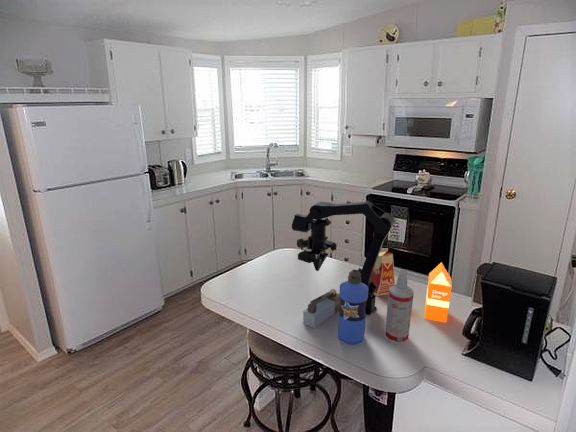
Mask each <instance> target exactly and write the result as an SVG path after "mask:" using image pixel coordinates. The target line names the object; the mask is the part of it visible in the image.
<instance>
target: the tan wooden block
mask: <svg viewBox="0 0 576 432" xmlns="http://www.w3.org/2000/svg"><path fill="white" fill-rule="evenodd" d="M328 299H330V300H332V301H335V313H337V312H339V311H340V306H341V305H340V296H339V293H337V292H336V296H331V297H329V298H328ZM335 313H334V314H335Z"/></svg>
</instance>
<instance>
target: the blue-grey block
mask: <svg viewBox="0 0 576 432" xmlns="http://www.w3.org/2000/svg"><path fill="white" fill-rule="evenodd" d="M302 313H303V314H302V316H303V317H302V319H303V321H302V324H305V325H306V326H309V327H311V328H313V329H315V328H317V327H318V326H319V325H321V324H322V323H324V322H325V321H326V320H327V319H328V318H330V317H331V316H333V315H334V314H335V301H332V300H330V299H326V300H324V301H322V302H320V303H318V304H316V305H315V304H313V303H308V304H307V308H305V310H303V312H302Z"/></svg>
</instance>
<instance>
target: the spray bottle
mask: <svg viewBox="0 0 576 432" xmlns="http://www.w3.org/2000/svg"><path fill="white" fill-rule="evenodd" d="M407 275H408V271H407V270H405V269H401V270H399V275H398V278H397V281H396V284H395V285H392V286H390V287H389V294H388V299H387V300H388V301H387V309H386V310H387V311H386V320H385V331H384V337H385V340H387V341H388V342H389V343H392V344H396V345H403V344H404V345H405V344H406V343H407V342H408V341H409V335H410V328H411V319H412V312H413V310H412V309H413V302H414V293H415V292H414V289H413V288H412V287H410V286H409V285H408V278H407V277H408V276H407Z"/></svg>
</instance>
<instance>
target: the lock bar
mask: <svg viewBox="0 0 576 432" xmlns="http://www.w3.org/2000/svg"><path fill="white" fill-rule="evenodd" d="M336 293H337V289H335V288H331V289H330V290H329V291H328V292H326V293H324V294H322V295H320V296H317V297H316V298H314V299H312V300H310V303H313V304H315V305H316V304H318V303H320V302H322V301H324V300H326V299H328V298H329V297H331V296H336ZM310 303H309V304H310Z"/></svg>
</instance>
